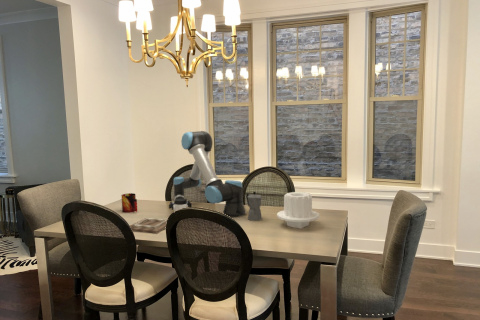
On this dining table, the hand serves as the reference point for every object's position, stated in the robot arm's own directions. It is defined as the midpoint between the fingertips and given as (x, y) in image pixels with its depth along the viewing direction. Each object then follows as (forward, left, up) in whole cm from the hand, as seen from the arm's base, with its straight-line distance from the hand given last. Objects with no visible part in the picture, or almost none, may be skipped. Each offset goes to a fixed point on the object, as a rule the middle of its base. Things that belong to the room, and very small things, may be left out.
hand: (180, 208), depth 249 cm
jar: (+1, -3, -7) cm, 8 cm away
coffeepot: (-47, -12, -7) cm, 49 cm away
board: (+9, +21, -7) cm, 24 cm away
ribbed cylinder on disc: (-77, -5, -7) cm, 77 cm away
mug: (+44, -9, -7) cm, 46 cm away
